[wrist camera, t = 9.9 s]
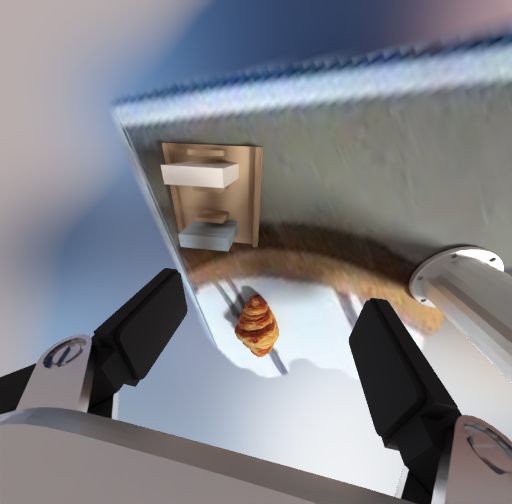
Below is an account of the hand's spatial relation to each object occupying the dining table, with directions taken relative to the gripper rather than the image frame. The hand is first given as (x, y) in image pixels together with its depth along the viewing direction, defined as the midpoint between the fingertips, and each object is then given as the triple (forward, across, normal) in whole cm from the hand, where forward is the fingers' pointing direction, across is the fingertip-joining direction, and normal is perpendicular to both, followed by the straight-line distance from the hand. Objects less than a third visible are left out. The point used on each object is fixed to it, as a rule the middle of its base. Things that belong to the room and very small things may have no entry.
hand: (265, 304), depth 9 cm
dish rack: (+22, +11, 0) cm, 25 cm away
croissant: (+23, +3, +29) cm, 38 cm away
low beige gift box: (+21, +10, -4) cm, 24 cm away
